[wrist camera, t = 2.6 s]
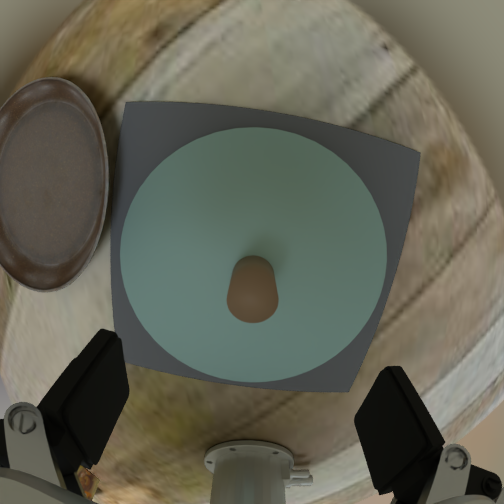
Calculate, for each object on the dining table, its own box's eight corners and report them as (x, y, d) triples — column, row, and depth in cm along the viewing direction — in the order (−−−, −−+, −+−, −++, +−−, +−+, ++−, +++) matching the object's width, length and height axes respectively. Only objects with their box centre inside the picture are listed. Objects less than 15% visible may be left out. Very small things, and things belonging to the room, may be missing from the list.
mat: (418, 152, 19) (420, 152, 19) (347, 389, 26) (348, 392, 26) (127, 103, 19) (125, 102, 18) (119, 358, 25) (118, 360, 25)
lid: (404, 163, 19) (442, 164, 14) (340, 382, 25) (354, 418, 20) (137, 119, 19) (104, 106, 13) (129, 353, 25) (109, 386, 19)
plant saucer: (132, 291, 23) (116, 307, 20) (3, 272, 23) (-14, 281, 20) (135, 64, 18) (119, 51, 15) (-1, 110, 18) (-19, 108, 15)
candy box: (65, 457, 35) (42, 502, 21) (76, 459, 35) (53, 508, 20) (89, 477, 38) (71, 521, 23) (101, 480, 37) (83, 526, 23)
